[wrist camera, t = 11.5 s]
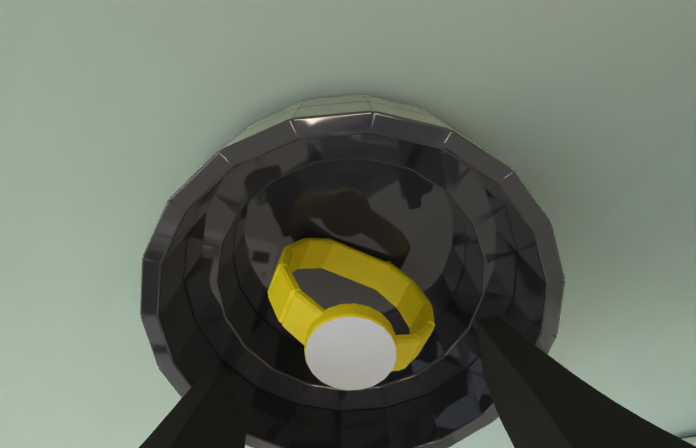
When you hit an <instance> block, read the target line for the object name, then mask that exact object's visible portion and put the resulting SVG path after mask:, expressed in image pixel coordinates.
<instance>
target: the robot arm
mask: <svg viewBox="0 0 696 448" xmlns="http://www.w3.org/2000/svg"><path fill="white" fill-rule="evenodd" d="M476 320H477V328H478V336H479V344H480V352H481V360H482V368H483V376H484V379H485V381H486V384H487V387H488V390H489V392H490V395H491V398H492V400H493V403H494V406H495V408H496V411H497V413H498V415H499V417H500V419H501V421H502V423H503V425H504V427H505V429H506V431H507V433H508V435H509V437H510V439H511V441H512V443H513V445H514V447H515V448H696V446H694V445H692V444H690V443H688V442H686V441H684V440H682V439H680V438H678V437H676V436H674V435H672V434H670V433H668V432H667V431H665V430H663V429H661V428H659V427H657V426H655V425H654V424H652V423H650V422H648V421H646V420H645V419H643V418H641V417H639V416H638V415H636V414H634V413H633V412H631V411H629V410H628V409H626V408H624V407H623V406H621V405H619V404H618V403H616V402H614V401H613V400H611V399H610V398H608V397H607V396H605V395H604V394H602V393H600V392H599V391H597V390H596V389H594V388H593V387H591V386H590V385H589V384H587V383H586V382H584V381H583V380H581V379H580V378H578V377H577V376H576V375H574V374H573V373H571V372H570V371H569V370H567V369H566V368H564V367H563V366H562V365H561V364H559V363H558V362H557V361H555V360H554V359H553V358H551V357H550V356H549V355H547V354H546V353H545V352H543V351H542V350H541V349H540V348H538V347H537V346H536V345H535V344H533V343H532V342H531V341H530V340H529V339H527V338H526V337H525V336H524V335H523V334H521V333H520V332H519V331H518V330H517V329H516V328H514V327H513V326H512V325H511V324H510V323H509V322H507V321H506V320H505V319H504V318H503V317H501V316H500V315H496V316H491V317H486V318H480V319H476ZM247 423H248V419H247V416H246V414H245V412H244V410H243V408H242V405H241V403H240V401H239V399H238V397H237V394H236V392H235V390H234V388H233V385H232V383H231V381H230V379H229V377H228V374H227V372H226V370H225V368H224V369H219V370H214V371H209V372H205V373H204V374H203V375H202V376H201V377H200V378H199V379H198V380H197V381H196V382H195V384H194V385H193V386H192V387H191V388H190V389H189V390H188V392H187V393H186V394H185V395H184V396H183V398H182V399H181V400H180V401H179V402H178V403H177V405H176V406H175V407H174V408H173V409H172V411H171V412H170V413H169V414H168V415H167V416H166V417H165V419H164V420H163V421H162V422H161V423H160V424H159V426H158V427H157V428H156V429H155V430H154V431H153V433H152V434H151V435H150V436H149V437H148V438H147V439H146V440H145V442H144V443H143V444H142V445H141V446H140V447H139V448H245V441H246V432H247Z"/></svg>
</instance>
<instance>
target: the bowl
mask: <svg viewBox="0 0 696 448" xmlns="http://www.w3.org/2000/svg"><path fill="white" fill-rule="evenodd" d="M304 238H305V239H306V238H329V239H332V240H334V241H337V242H339V243H342V244H344V245H347V246H349V247H351V248H354V249H356V250H359V251H361V252H364V253H366V254H369V255H371V256H373V257H376V258H378V259H381V260H383V261H386V262H387V261H390V262H391V263H390V264H394V265H395V266H396V267H397V268H399V269H400V270H401V271H402V272H404V273H405V274H406V275H407V276H409V277H410V278H411V279H412V280H414V283H416V284H417V285H418V286H419V288H420V289H421V290H422V292H423V293H424V294H425V296H426V297H427V299H428V300H429V301H430V303H431V305H432V308H433V315H434V323H435V327H434V330H433V331H432V333H431V335H430V336H429V338H428V340H427V341H426V343H425V345H424V346H423V348H422V349H421V351H420V353H419V354H418V356H417V357H416V358H415V359H414V360H413V361H412V362H411V363H410V364H409V365H408V366H407V367H406V368H405V369H401V370H399V371H391V372H390V373H389V374H388V376H387V377H386V378H385V379H384V380H382V381H381V382H379V383H378V384H376V385H374V386H372V387H368V388H365V389H362V390H343V389H338V388H333V387H331V386H329V385H327V384H325V383H323V382H321V381H320V380H319V379H318V378H317V377H316V376H315V375H314V374H313V373H312V372H311V370H310V368H309V366H308V364H307V363H306V360H305V353H304V345H303V344H302V343H301V342H300V341H299V340H297V339H296V338H295V337H294V336H293V335H292V334H291V333H290V332H289V331H287V330H286V329H285V328H284V327H283V326H282V323H280V322H279V321H278V318H277V316H276V314H275V312H274V309H273V307H272V305H271V303H270V300H269V298H268V289H269V286H270V283H271V280H272V276H273V273H274V271H275V268H276V266H277V263H278V261H279V258H280V256H281V253H282V251H283V248H285V246H287V245H290V244H292V243H294V242H296V241H299V240H301V239H304ZM292 274H293V276H294V278H295V280H296V282H297V284H298V285H299V287H300V289H301V291H303V292H304V293H305V294H306V295H308V296H309V297H310V298H311V299H313V300H314V301H315V302H316V303H317V304H319V305H320V306H321V307H322V308H324V309H325V310H326V309H328V308H330V307H333V306H336V305H339V304H352V303H355V304H360V305H365V306H369V307H371V308H373V309H375V310H377V311H378V312H380V313H382V314H383V315H384V316H385V317H386V318H387V320H388V321H389V322H390V323H391V325H392V327H393V330H394V332H395V335H407V334H410V328H409V327H408V325H407V324H406V322H405V320H404V319H403V317H402V315H401V314H400V312H399V311H398V309H397V308H396V307H395V306H394V305H393V304H391V303H390V302H389V301H388V300H387V299H386V298H385V297H383V296H382V295H381V294H380V293H379V292H378V291H377V290H375V289H372V288H370V287H367V286H365V285H362V284H360V283H357V282H355V281H352V280H350V279H347V278H345V277H342V276H340V275H337V274H335V273H332V272H330V271H327V270H325V269H322V268H312V269H297V270H296V271H294V272H292ZM564 280H565V278H564V273H563V269H562V265H561V261H560V257H559V253H558V249H557V244H556V240H555V236H554V232H553V228H552V224H551V223H550V220H549V218H548V217H547V216H546V214H545V213H544V211H543V210H542V209H541V207H540V206H539V204H538V203H537V202H536V200H535V199H534V198H533V196H532V195H531V193H530V192H529V191H528V189H527V188H526V186H525V185H524V184H523V182H522V181H521V180H520V178H519V177H518V175H517V174H516V173H515V171H514V170H513V169H511V167H509V166H508V165H506V164H505V163H504V162H502V161H501V160H499V159H498V158H496V157H495V156H493V155H492V154H490V153H489V152H487V151H486V150H484V149H483V148H481V147H480V146H478V145H477V144H475V143H474V142H472V141H471V140H469V139H468V138H467V137H465V136H463V135H462V134H460V133H459V132H457V131H456V130H454V129H453V128H451V127H450V126H448V125H447V124H445V123H443V122H442V121H440V120H439V119H437V118H436V117H434V116H433V115H431V114H430V113H428V112H427V111H425V110H423V109H421V108H419V107H415V106H411V105H407V104H403V103H399V102H395V101H391V100H386V99H382V98H378V97H374V96H370V95H366V94H365V95H362V94H361V95H350V96H339V97H328V98H317V99H307V100H306V101H305V100H303V101H301V102H299V103H296V104H294V105H292V106H290V107H288V108H285V109H283V110H281V111H279V112H276V113H274V114H272V115H270V116H268V117H265V118H263V119H261V120H259V121H256V122H254V123H253V124H251V125H250V126H249V127H247V128H246V129H245V130H244V131H243V132H241V133H240V134H239V135H238V136H236V137H235V138H234V139H233V140H231V141H230V142H229V143H228V144H226V145H225V146H224V147H223V148H221V149H220V150H219V151H218V152H217V153H216V154H215V155H214V156H213V157H212V158H211V159H210V160H208V161H207V162H206V163H205V164H204V165H203V166H202V167H201V168H200V169H199V170H198V171H197V172H196V173H195V174H194V175H193V176H192V177H191V178H190V179H189V180H188V181H187V182H186V183H185V184H184V185H183V186H182V187H181V188H179V189H178V190H177V191H176V192H175V193H174V194H173V195H172V196H171V197H170V199H169V200H168V202H167V204H166V206H165V208H164V210H163V213H162V215H161V217H160V219H159V221H158V224H157V226H156V228H155V230H154V232H153V235H152V237H151V239H150V241H149V243H148V246H147V248H146V250H145V252H144V254H143V258H142V280H141V307H140V315H141V319H142V322H143V325H144V328H145V331H146V334H147V336H148V339H149V342H150V345H151V348H152V351H153V354H154V356H155V359H156V362H157V365H158V367H159V369H160V371H161V372H162V373H163V374H164V376H165V377H166V378H167V380H168V381H169V382H170V383H171V385H172V386H173V387H174V388H175V390H176V391H177V392H178V393H179V395H180V396H181V397H182V398H183V396H184V395H185V394H186V393H187V392H188V390H189V389H190V388H191V387H192V386H193V385H194V384H195V382H196V381H197V380H198V379H199V378H200V377H201V376H202V375H203V374H204V373H205V372H209V371H214V370H219V369H224V368H225V370H226V372H227V374H228V377H229V379H230V381H231V383H232V385H233V388H234V390H235V392H236V394H237V397H238V399H239V401H240V403H241V405H242V408H243V410H244V412H245V414H246V416H247V419H248V423H247V432H246V441H245V445H247V446H250V447H252V448H449V447H450V446H452V445H454V444H455V443H457V442H459V441H461V440H462V439H464V438H466V437H468V436H469V435H471V434H473V433H475V432H476V431H478V430H480V429H481V428H483V427H485V426H487V425H488V424H490V423H492V422H493V421H495V420H496V419H497V418H498V417H499V415H498V413H497V411H496V408H495V406H494V403H493V400H492V398H491V395H490V392H489V390H488V387H487V384H486V381H485V379H484V376H483V368H482V360H481V352H480V344H479V336H478V328H477V320H476V319H480V318H486V317H491V316H496V315H500V316H501V317H503V318H504V319H505V320H506V321H507V322H509V323H510V324H511V325H512V326H513V327H514V328H516V329H517V330H518V331H519V332H520V333H521V334H523V335H524V336H525V337H526V338H527V339H529V340H530V341H531V342H532V343H533V344H535V345H536V346H537V347H538V348H540V349H541V350H542V351H543V352H545V353H546V354H548V352H549V350H550V348H551V346H552V344H553V342H554V341H555V339H556V335H557V333H558V326H559V319H560V312H561V305H562V298H563V292H564V285H565V281H564Z"/></svg>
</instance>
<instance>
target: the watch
mask: <svg viewBox="0 0 696 448" xmlns="http://www.w3.org/2000/svg"><path fill="white" fill-rule="evenodd" d="M390 263H391V262H390V261H387V262H386V261H383V260H381V259H378V258H376V257H373V256H371V255H369V254H366V253H364V252H361V251H359V250H356V249H354V248H351V247H349V246H347V245H344V244H342V243H339V242H337V241H334V240H332V239H329V238H306V239H305V238H304V239H301V240H299V241H296V242H294V243H292V244H290V245H287V246H285V248H283V251H282V253H281V256H280V258H279V261H278V263H277V266H276V268H275V271H274V273H273V276H272V280H271V283H270V286H269V289H268V298H269V300H270V303H271V305H272V307H273V309H274V312H275V314H276V316H277V318H278V321H279V322H280V323H282V326H283V327H284V328H285V329H286V330H287V331H289V332H290V333H291V334H292V335H293V336H294V337H295V338H296V339H297V340H299V341H300V342H301V343H302V344H303V345H304V353H305V360H306V363H307V364H308V366H309V368H310V370H311V372H312V373H313V374H314V375H315V376H316V377H317V378H318V379H319V380H320V381H321V382H323V383H325V384H327V385H329V386H331V387H333V388H338V389H343V390H362V389H365V388H368V387H372V386H374V385H376V384H378V383H379V382H381V381H382V380H384V379H385V378H386V377H387V376H388V374H389V373H390V372H391V371H399V370H401V369H405V368H406V367H407V366H408V365H409V364H410V363H411V362H412V361H413V360H414V359H415V358H416V357H417V356H418V354H419V353H420V351H421V349H422V348H423V346H424V345H425V343H426V341H427V340H428V338H429V336H430V335H431V333H432V331H433V330H434V327H435V323H434V315H433V308H432V305H431V303H430V301H429V300H428V299H427V297H426V296H425V294H424V293H423V292H422V290H421V289H420V288H419V286H418V285H417V284H416V283H414V280H412V279H411V278H410V277H409V276H407V275H406V274H405V273H404V272H402V271H401V270H400V269H399V268H397V267H396V266H395V265H394V264H390ZM312 268H322V269H325V270H327V271H330V272H332V273H335V274H337V275H340V276H342V277H345V278H347V279H350V280H352V281H355V282H357V283H360V284H362V285H365V286H367V287H370V288H372V289H375V290H377V291H378V292H379V293H380V294H381V295H382V296H383V297H385V298H386V299H387V300H388V301H389V302H390V303H391V304H393V305H394V306H395V307H396V308H397V309H398V311H399V312H400V314H401V315H402V317H403V319H404V320H405V322H406V324H407V325H408V327H409V328H410V334H407V335H395V332H394V330H393V327H392V325H391V323H390V322H389V321H388V320H387V318H386V317H385V316H384V315H383V314H382V313H380V312H378V311H377V310H375V309H373V308H371V307H369V306H365V305H360V304H355V303H352V304H339V305H336V306H333V307H330V308H328V309H326V310H325V309H324V308H322V307H321V306H320V305H319V304H317V303H316V302H315V301H314V300H313V299H311V298H310V297H309V296H308V295H306V294H305V293H304V292H303V291H301V289H300V287H299V285H298V284H297V282H296V280H295V278H294V276H293V274H292V272H294V271H296V270H297V269H312Z"/></svg>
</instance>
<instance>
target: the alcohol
mask: <svg viewBox="0 0 696 448" xmlns="http://www.w3.org/2000/svg"><path fill="white" fill-rule="evenodd" d="M682 440H684V441H686V442H688V443H690V444H692V445H694V446H696V436H695V437H688V438H682Z"/></svg>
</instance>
